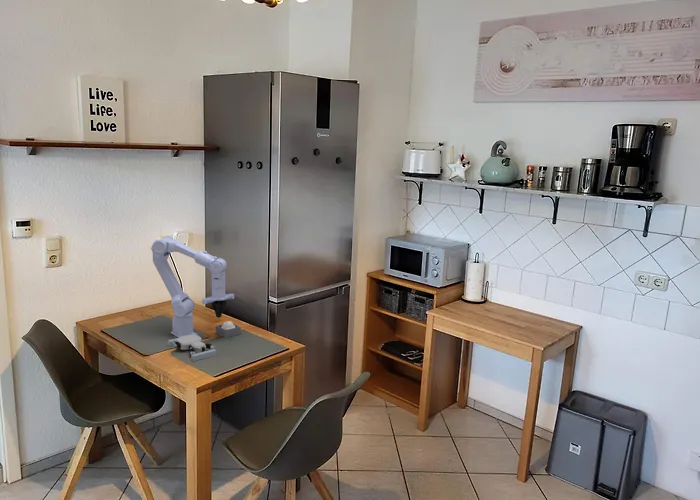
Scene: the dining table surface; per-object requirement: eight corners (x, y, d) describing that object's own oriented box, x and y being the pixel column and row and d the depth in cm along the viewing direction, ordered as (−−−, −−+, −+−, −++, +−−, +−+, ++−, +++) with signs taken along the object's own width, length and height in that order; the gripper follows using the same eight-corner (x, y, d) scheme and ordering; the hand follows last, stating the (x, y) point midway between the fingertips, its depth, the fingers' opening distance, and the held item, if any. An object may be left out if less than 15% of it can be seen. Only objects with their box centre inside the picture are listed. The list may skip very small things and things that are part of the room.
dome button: (218, 331, 241) (218, 320, 240) (230, 328, 245) (230, 318, 244) (225, 334, 236) (225, 324, 236) (237, 331, 241) (237, 321, 240)
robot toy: (216, 353, 220) (195, 341, 230) (217, 343, 219) (195, 331, 228) (190, 361, 211) (169, 348, 220) (191, 350, 210) (169, 338, 219)
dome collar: (215, 332, 241) (215, 325, 240) (231, 329, 246) (231, 322, 246) (225, 337, 235) (225, 330, 235) (240, 333, 241) (240, 326, 240)
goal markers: (167, 344, 224) (167, 340, 224) (190, 339, 231) (190, 335, 231) (193, 361, 209) (193, 356, 209) (216, 355, 216) (216, 350, 215)
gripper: (208, 291, 223) (208, 322, 226) (238, 286, 233) (238, 316, 236) (199, 287, 228) (199, 318, 231) (229, 282, 238) (229, 312, 241)
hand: (218, 317), depth 233 cm, fingers closed
